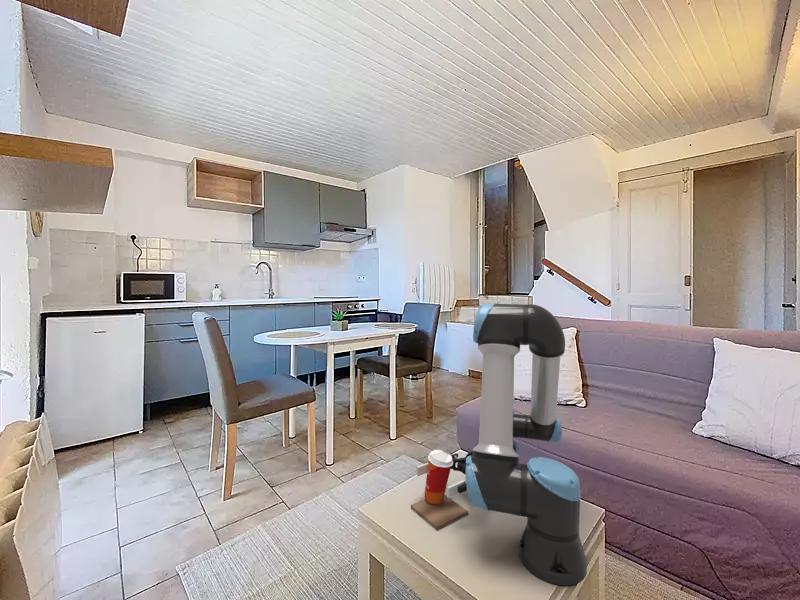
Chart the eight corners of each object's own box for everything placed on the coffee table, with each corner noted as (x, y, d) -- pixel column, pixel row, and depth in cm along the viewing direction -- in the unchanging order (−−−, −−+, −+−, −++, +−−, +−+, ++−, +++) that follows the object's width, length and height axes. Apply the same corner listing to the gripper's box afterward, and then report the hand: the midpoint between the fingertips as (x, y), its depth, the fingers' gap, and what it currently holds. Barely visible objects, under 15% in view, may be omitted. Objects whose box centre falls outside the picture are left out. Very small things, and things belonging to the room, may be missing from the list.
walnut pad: (468, 514, 105) (468, 511, 105) (437, 530, 98) (437, 527, 98) (441, 494, 115) (441, 491, 115) (410, 508, 108) (410, 505, 108)
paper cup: (429, 487, 116) (436, 446, 114) (450, 499, 111) (458, 457, 110) (416, 497, 109) (423, 454, 108) (437, 511, 105) (446, 466, 103)
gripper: (513, 490, 106) (462, 516, 94) (455, 457, 127) (406, 475, 115) (514, 465, 106) (462, 488, 94) (455, 436, 126) (406, 452, 114)
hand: (431, 481), depth 104 cm, fingers open, 13 cm apart
